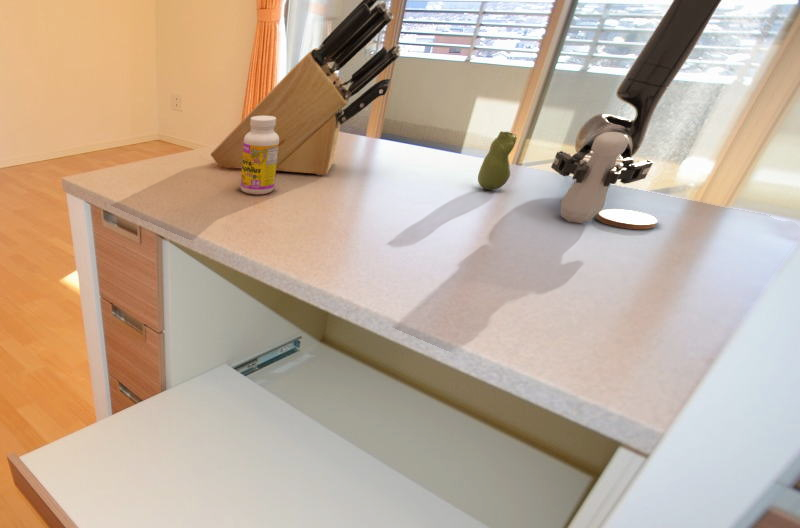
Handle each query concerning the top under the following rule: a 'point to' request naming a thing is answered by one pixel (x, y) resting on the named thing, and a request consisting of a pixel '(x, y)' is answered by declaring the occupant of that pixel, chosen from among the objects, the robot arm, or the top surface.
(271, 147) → the supplement bottle
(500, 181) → the pear
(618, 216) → the coaster
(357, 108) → the knife block
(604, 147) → the salt shaker
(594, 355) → the top surface
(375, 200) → the top surface
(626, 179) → the robot arm
